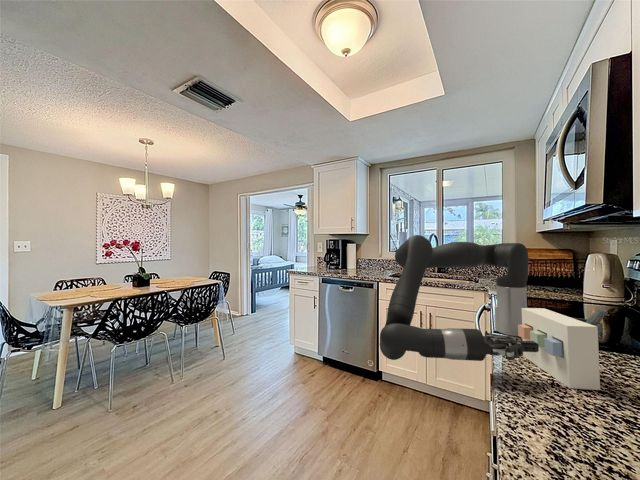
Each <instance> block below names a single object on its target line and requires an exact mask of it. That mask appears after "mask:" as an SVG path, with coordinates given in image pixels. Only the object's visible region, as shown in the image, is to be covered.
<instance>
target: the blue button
mask: <svg viewBox="0 0 640 480" xmlns="http://www.w3.org/2000/svg"><path fill="white" fill-rule="evenodd" d="M544 349H545V352H547V353H549V354H551V355H552V356H563V349H562V342H560V341H558V340H556V339H554V338H544Z"/></svg>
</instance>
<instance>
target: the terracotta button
mask: <svg viewBox="0 0 640 480" xmlns="http://www.w3.org/2000/svg"><path fill="white" fill-rule="evenodd" d="M530 331H532V328H531V327H529V326H527V325H518V336H517V337H520V338H522V340H523V339H529V340H530Z"/></svg>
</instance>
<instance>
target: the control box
mask: <svg viewBox="0 0 640 480" xmlns="http://www.w3.org/2000/svg"><path fill="white" fill-rule="evenodd" d="M574 318H575V317H570V316H567V315H565V314H561V313H558V312H556V311H553V310H550V309H547V308H544V307H543V308H541V307H538V308H537V307H527V308H522V325H527V326H529V327H531V328H532V331H539V332H542V333H544V334H546V338H554V339H556V340H558V341H560V342H562V349H563V356H552V355H551V354H549V353H547V352H545V349H544V347H539V351H538V352H523V356H522V357H524V358H525V359H527V360H528V361H530V362H531V363H532V364H534V365H535V366H536V367H538V368H540V369H541V370H543V371H544V372H546V373H547V374H549V376H552V377H553V379H556V380H557V381H559V382H560V383H562V385H564V386H565V387H567V388H569V389H576V390H578V389H579V390H589V391H590V390H594V391H601V382H600V379H601V378H600V377H601V376H600V374H601V373H600V357H599V356H600V354H599V353H600V352H599V337H598V327H597V326H594V325H591V324H588V323H585V322H582V321H579V320H576V319H574ZM522 341H530V340H529V339H523V338H522Z"/></svg>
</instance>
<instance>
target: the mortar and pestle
mask: <svg viewBox="0 0 640 480" xmlns="http://www.w3.org/2000/svg"><path fill="white" fill-rule="evenodd" d="M608 313H609V312H608V311H607V310H605V309H604V308H602V307H597V308H595V311H594V312H593V313H592V314H591V315H590V317H588V318H587V319H586V318H577V317H573V318H574V319H576V320H579V321H582V322H585V323H588V324H591V325H594V326H597V327H598V338H599V337H600V335H601V334H602V332H603V323H601V321H602V320H603V319H604V317H605V316H606V315H608Z"/></svg>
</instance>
